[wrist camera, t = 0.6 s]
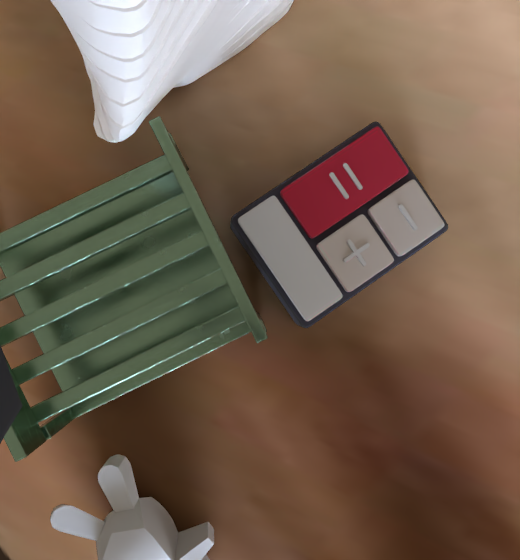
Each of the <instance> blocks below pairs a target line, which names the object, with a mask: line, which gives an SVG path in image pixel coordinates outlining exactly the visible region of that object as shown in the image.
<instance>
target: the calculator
mask: <svg viewBox="0 0 520 560" xmlns="http://www.w3.org/2000/svg"><path fill="white" fill-rule="evenodd" d="M230 227H231V229H232V231H233V232H234V234H235V235H236V237H237V238H238V240H239V241H240V243H241V244H242V246H243V247H244V249H245V250H246V251H247V253H248V254H249V256H250V257H251V259H252V260H253V262H254V263H255V265H256V266H257V268H258V269H259V271H260V272H261V273H262V275H263V276H264V278H265V279H266V281H267V282H268V284H269V285H270V287H271V288H272V290H273V291H274V293H275V294H276V295H277V297H278V298H279V300H280V301H281V303H282V304H283V306H284V307H285V309H286V310H287V312H288V313H289V314H290V316H291V317H292V319H293V320H294V322H295V323H296V324H297V325H299V326H301V327H304V328H308V327H310V326H311V325H313V324H314V323H316V322H317V321H319V320H320V319H321V318H323V317H324V316H326V315H327V314H329V313H330V312H331V311H333V310H334V309H336V308H337V307H339V306H340V305H341V304H343V303H344V302H346V301H347V300H349V299H350V298H351V297H353V296H354V295H356V294H357V293H359V292H360V291H361V290H363V289H364V288H366V287H367V286H369V285H370V284H371V283H373V282H374V281H376V280H377V279H379V278H380V277H381V276H383V275H384V274H386V273H387V272H389V271H390V270H391V269H393V268H394V267H396V266H397V265H399V264H400V263H401V262H403V261H404V260H406V259H407V258H409V257H410V256H411V255H413V254H414V253H416V252H417V251H419V250H420V249H421V248H423V247H424V246H426V245H427V244H429V243H430V242H431V241H433V240H434V239H436V238H437V237H438V236H440V235H441V234H443V233H444V232H445V231H447V229H448V224H447V222H446V221H445V219H444V218H443V216H442V215H441V213H440V212H439V210H438V209H437V207H436V206H435V204H434V203H433V202H432V200H431V199H430V197H429V196H428V194H427V193H426V191H425V190H424V188H423V187H422V185H421V184H420V182H419V181H418V179H417V178H416V176H415V175H414V173H413V172H412V170H411V169H410V167H409V166H408V164H407V163H406V161H405V160H404V158H403V157H402V155H401V154H400V153H399V151H398V150H397V148H396V147H395V145H394V144H393V142H392V141H391V139H390V138H389V136H388V135H387V133H386V132H385V130H384V129H383V127H382V126H381V124H380V123H379V122H373V123H371V124H369V125H368V126H366V127H365V128H364V129H362V130H361V131H359V132H358V133H356V134H355V135H353V136H352V137H350V138H349V139H347V140H346V141H344V142H343V143H341V144H340V145H338V146H337V147H335V148H334V149H332V150H331V151H329V152H328V153H326V154H325V155H323V156H322V157H320V158H319V159H317V160H316V161H314V162H313V163H311V164H310V165H308V166H307V167H305V168H304V169H302V170H301V171H299V172H298V173H296V174H295V175H293V176H292V177H290V178H289V179H287V180H286V181H284V182H283V183H281V184H280V185H278V186H277V187H275V188H274V189H272V190H271V191H269V192H268V193H266V194H265V195H263V196H262V197H260V198H259V199H257V200H256V201H254V202H253V203H251V204H250V205H248V206H247V207H245V208H244V209H242V210H241V211H239V212H238V213H236V214H235V215H233V216H232V218H231V224H230Z"/></svg>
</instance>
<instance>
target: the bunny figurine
mask: <svg viewBox="0 0 520 560" xmlns="http://www.w3.org/2000/svg"><path fill="white" fill-rule="evenodd" d="M98 482H99V484H100V486H101V488H102V490H103V492H104V493H105V495H106V497H107V499H108V501H109V503H110V505H111V506H112V508H113V511H112V512H110V513H109V514H108V515H107V517H106V518H105V519H104V521H102V520H100V519H98V518H96V517H94V516H92V515H90V514H88V513H86V512H84V511H82V510H80V509H78V508H76V507H74V506H70V505H65V504H61V505H58V506H56V507H55V508H53V511H52V513H51V517H50V520H51V524H52V527H53V528H55V529H57V530H59V531H61V532H65V533H68V534H72V535H76V536H80V537H83V538H87V539H91V540H95V541H96V546H97V555H98V560H209V558H208V556H207V555H206V553H207V552H208V551H209V549H210V548H211V547H212V546H213V544H214V528H213V527H212V526H211V524H210V523H209V522H206V523H203V524H200V525H197V526H195V527H192V528H189V529H187V530H184V531H181V532H178V531H177V528H176V526H175V524H174V521H173V519H172V518H171V516H170V515H169V513H168V512H167V511H166V510H165V508H164V507H163V506H162V505H161V504H160V503H159V502H158V501H156V500H155V499H154V498H152V497H145V498H139V496H138V492H137V488H136V484H135V480H134V476H133V472H132V467H131V463H130V462H129V460H128V459H127V458H126V456H122V455H119V454H117V455H114V456H111V457H110V458H109V459H108V460H107V461H106V463H105V464H104V465H103V467H102V468H101V469H100V471H99V473H98Z"/></svg>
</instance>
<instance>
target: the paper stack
mask: <svg viewBox="0 0 520 560" xmlns="http://www.w3.org/2000/svg"><path fill="white" fill-rule="evenodd" d="M293 1H294V0H51V2H52V3H53V5H54V6H55V7H56V8H57V10H58V11H59V13H60V15H61V16H62V18H63V19H64V21H65V23H66V25H67V26H68V28H69V30H70V32H71V34H72V36H73V38H74V39H75V41H76V43H77V45H78V47H79V50H80V52H81V54H82V56H83V59H84V63H85V67H86V71H87V74H88V76H89V78H90V80H91V86H92V94H93V100H94V105H95V116H94V123H93V125H94V128H95V131H96V133H97V136H98V137H100V138H102V139H105V140H106V141H109V142H114V143H117V142H121V141H123V140H125V139H127V138H128V137H130V136H131V135H132V134H134V133H135V131H136V130H137V128H138V127H139V126H140V124H141V123H142V122H143V120H144V119H145V118H146V117H147V115H148V114H149V113H150V112H151V111H152V110H153V109H154V108H155V107H156V105H157V104H158V103H159V102H160V101H161V100H162V99H163V97H164V96H165V95H167V93H168V92H169V91H170V90H171V89H172V88H174V87H181V86H184V85H188V84H190V83H192V82H194V81H196V80H197V79H198V78H200V77H202V76H203V75H205V74H206V73H208V72H210V71H211V70H213V69H214V68H216V67H218V66H219V65H221V64H222V63H224V62H225V61H227V60H228V59H230V58H231V57H233V56H235V55H236V54H238V53H239V52H241V51H242V50H243V49H245V48H246V47H247V46H249V45H250V44H251V43H252V42H253V41H255V40H256V39H257V38H258V37H259V36H260V35H261V34H262V33H264V32H265V31H266V30H268V29H269V28H270V27H272V26H273V25H274V24H276V23H277V22H278V21H279V20H280V19H281V18H282V17H283V16H284V15H285V14H286V13H287V12H288V11H289V9H290V7H291V5H292V3H293Z"/></svg>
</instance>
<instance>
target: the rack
mask: <svg viewBox="0 0 520 560" xmlns="http://www.w3.org/2000/svg"><path fill="white" fill-rule="evenodd" d="M149 123H150V125H151V127H152V129H153V132H154V134H155V136H156V138H157V140H158V142H159V144H160V146H161V148H162V150H163V152H164V154H165V155H163V156H161V157H159V158H156V159H154V160H152V161H150V162H148V163H146V164H144V165H142V166H140V167H138V168H135V169H133V170H131V171H129V172H127V173H125V174H123V175H121V176H119V177H117V178H114V179H112V180H110V181H108V182H106V183H104V184H102V185H100V186H98V187H96V188H94V189H91V190H89V191H87V192H85V193H83V194H81V195H79V196H77V197H75V198H73V199H70V200H68V201H66V202H64V203H62V204H60V205H58V206H56V207H54V208H52V209H50V210H47V211H45V212H43V213H41V214H39V215H37V216H35V217H33V218H31V219H29V220H26V221H24V222H22V223H20V224H18V225H16V226H14V227H12V228H10V229H8V230H6V231H3V232H1V233H0V266H1V268H2V270H3V273H4V275H5V277H6V278H4V279H2V280H0V301H2V300H4V299H6V298H8V297H10V296H12V295H15V297H16V299H17V301H18V303H19V305H20V307H21V309H22V311H23V313H24V315H25V316H23V317H21V318H19V319H17V320H15V321H13V322H11V323H9V324H7V325H5V326H3V327H1V328H0V345H1V347H3V346H5V345H7V344H9V343H11V342H13V341H15V340H17V339H19V338H21V337H23V336H25V335H28V334H30V333H32V332H33V333H34V335H35V337H36V339H37V341H38V343H39V345H40V347H41V349H42V351H43V354H42V355H40V356H38V357H36V358H34V359H32V360H30V361H28V362H26V363H24V364H22V365H20V366H18V367H16V368H14V369H12V370H11V368H10V366H9V363H8V361H7V359H6V357H5V359H6V362H7V365H8V367H9V370H10V373H11V376H12V378H13V381H14V384H15V386H16V389H17V392H18V395H19V397H20V400H21V403H22V408H21V409H20V411H19V413H18V414H17V416H16V418H15V419H14V421H13V423H12V424H11V426H10V428H9V430H8V431H7V433H6V435H5V436H4V440H5V442H6V444H7V446H8V448H9V450H10V452H11V454H12V456H13V458H14V460H15V462H17V461H19V460H21V459H23V458H25V457H27V456H28V455H29V454H30V453H32V452H33V451H34V450H35V449H37V448H38V447H39V446H41V445H42V444H43V443H44V442H46V440H47V439H49V438H51V437H52V436H53V435H55V434H56V433H57V432H59V431H60V430H61V429H62V428H64V427H65V426H66V425H67V424H69V423H70V422H71V421H72V420H74V419H75V418H76V417H78V416H80V415H82V414H85V413H87V412H89V411H91V410H93V409H95V408H97V407H99V406H101V405H103V404H105V403H107V402H109V401H111V400H113V399H115V398H117V397H119V396H121V395H123V394H125V393H127V392H129V391H131V390H133V389H135V388H138V387H140V386H142V385H144V384H146V383H148V382H150V381H152V380H154V379H156V378H158V377H160V376H162V375H164V374H166V373H168V372H170V371H172V370H174V369H176V368H178V367H180V366H182V365H184V364H186V363H188V362H191V361H193V360H195V359H197V358H199V357H201V356H203V355H205V354H207V353H209V352H211V351H213V350H215V349H217V348H219V347H221V346H223V345H225V344H227V343H229V342H231V341H233V340H235V339H237V338H239V337H242V336H244V335H246V334H248V333H250V332H252V334H253V336H254V338H255V341H256V343H259V342H261V341H263V340H265V339H267V338H268V337H267V334H266V332H267V330H266V328H265V325H264V322H263V320H262V318H261V316H260V314H259V313H256V311H255V309H254V307H253V305H252V303H251V301H250V299H249V297H248V295H247V293H246V291H245V288H244V286H243V284H242V282H241V280H240V278H239V276H238V274H237V272H236V270H235V268H234V266H233V264H232V262H231V260H230V258H229V256H228V254H227V252H226V250H225V247H224V245H223V243H222V241H221V239H220V237H219V235H218V233H217V231H216V229H215V227H214V225H213V223H212V221H211V219H210V217H209V215H208V213H207V211H206V209H205V206H204V204H203V202H202V200H201V198H200V196H199V194H198V192H197V190H196V188H195V186H194V184H193V182H192V180H191V178H190V176H189V174H188V172H187V171H188V170H189V168H188V166H187V164H186V162H185V160H184V158H183V156H182V154H181V152H180V151H179V149H178V147H177V145H176V143H175V141H174V139H173V137H172V135H171V134H170V133H168V131H167V129H166V127H165V125H164V123H163V121H162V119H161V118H160V117H157V118H155V119H153V120H150V121H149ZM3 354H4V353H3ZM4 356H5V355H4ZM49 370H52V372H53V374H54V376H55V378H56V380H57V382H58V384H59V386H60V388H61V390H62V392H61V393H58V394H56V395H54V396H52V397H50V398H48V399H46V400H44V401H42V402H40V403H38V404H36V405H34V406H32V407H30V406H29V404H28V402H27V400H26V398H25V396H24V394H23V392H22V390H21V388H20V386H19V385H20V384H22V383H24V382H26V381H28V380H30V379H32V378H34V377H36V376H38V375H41V374H43V373H45V372H47V371H49ZM59 412H60V413H59ZM57 413H58V414H57ZM55 414H57V415H55ZM53 415H55V416H54V417H52V418H51V419H50V420H48V421H47V422H45V423H44V424H42V425H41V426H39V424H38V423H39V422H41V421H43V420H45V419H47V418H49V417H51V416H53Z"/></svg>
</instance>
